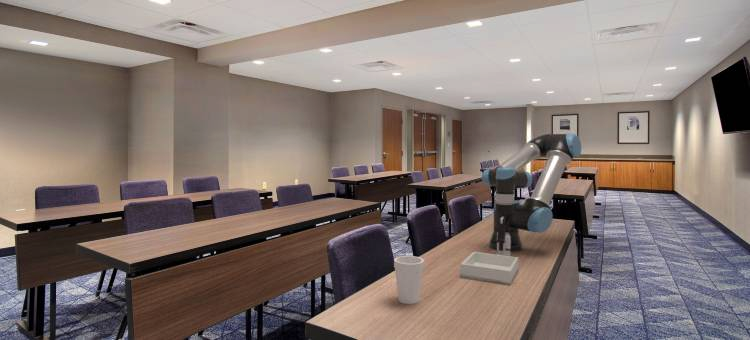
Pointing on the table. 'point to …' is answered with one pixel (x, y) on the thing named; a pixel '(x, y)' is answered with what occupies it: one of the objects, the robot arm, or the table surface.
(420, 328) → the table surface
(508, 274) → the tray
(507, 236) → the ink box
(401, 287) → the foam cup
